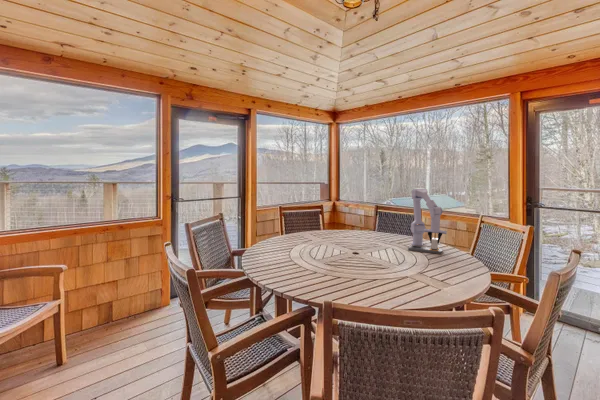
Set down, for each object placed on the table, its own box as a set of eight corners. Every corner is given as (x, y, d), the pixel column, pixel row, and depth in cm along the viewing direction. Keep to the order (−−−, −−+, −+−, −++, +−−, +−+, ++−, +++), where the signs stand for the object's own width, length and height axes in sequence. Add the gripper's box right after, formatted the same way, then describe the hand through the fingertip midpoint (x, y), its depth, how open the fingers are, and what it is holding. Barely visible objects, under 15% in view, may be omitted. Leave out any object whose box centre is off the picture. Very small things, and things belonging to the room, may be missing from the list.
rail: (410, 247, 226) (410, 244, 226) (442, 251, 215) (442, 248, 215) (408, 250, 219) (408, 247, 219) (441, 254, 208) (441, 251, 208)
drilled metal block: (431, 247, 216) (432, 237, 216) (437, 247, 214) (438, 238, 214) (431, 248, 213) (431, 238, 212) (437, 249, 211) (437, 239, 210)
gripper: (423, 224, 212) (422, 243, 214) (446, 225, 205) (445, 245, 206) (424, 222, 218) (424, 241, 220) (447, 224, 211) (446, 243, 212)
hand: (434, 243), depth 213 cm, fingers closed on drilled metal block, 4 cm apart
